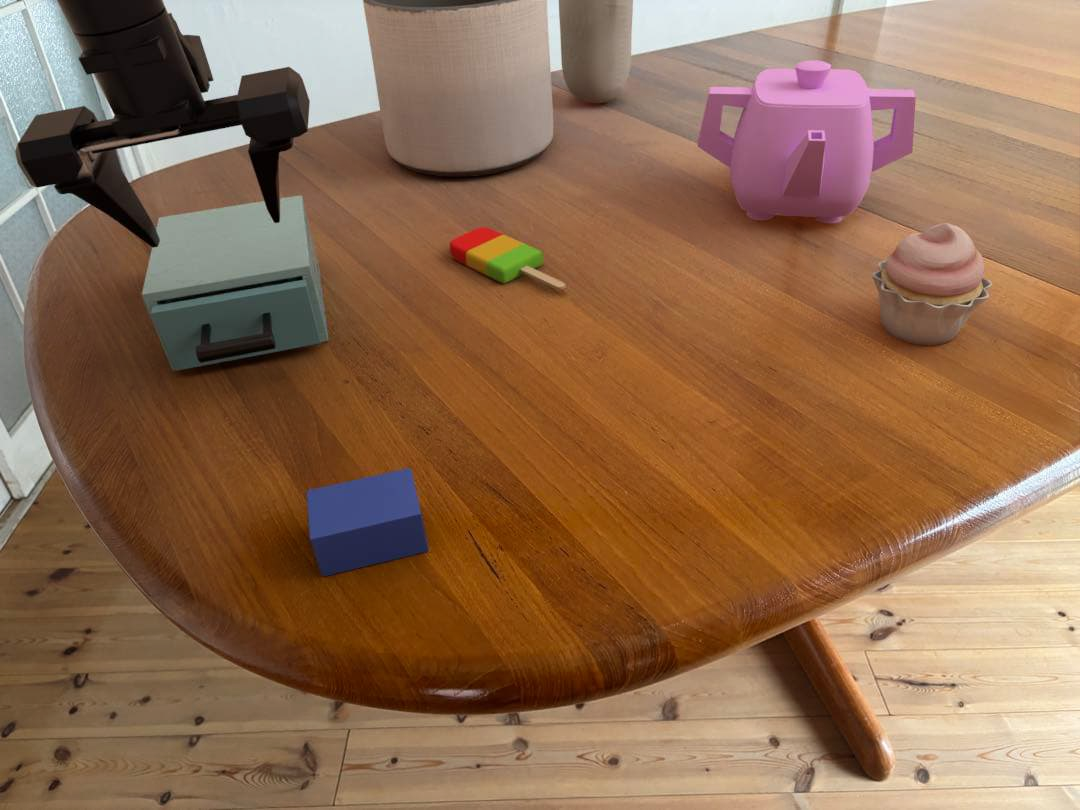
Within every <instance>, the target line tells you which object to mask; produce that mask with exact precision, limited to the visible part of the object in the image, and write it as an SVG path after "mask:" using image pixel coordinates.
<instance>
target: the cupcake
mask: <svg viewBox="0 0 1080 810" xmlns="http://www.w3.org/2000/svg"><path fill="white" fill-rule="evenodd" d="M877 266H878V270H876V271H874V272H872V274H871V277H872V279H873V282H874V285H875V287H876V289H877V293H878V299H879V312H880V323H881V324H882V328H883V329H884V330H885V331H886V332H887V333H888V334H890V336H892V337H894V338H896V339H899V340H901V341H904V342H907V343H909V344H914V345H922V346H937V345H943V344H947V343H949V342H951V341H952V340H953V339H955V338H956V337H957V336H958V334H959V333H960V331H961V330H962V329H963V327H964V325H965V323H966V322H967V321H968V319H969V318H970V316H971V315H972V313H973V312H975V310H976V309H978V308H979V307H980V306H981V305H982V304H983V303H984V302H985V301H986V300H988V299H989V298H990V293H989V292H988V290H989V289H990V287H992V285H993V282H992V281H991V280H990V279H988V278H985V277H984V275H985V263H984V259H983V256H982V254H981V253H980V251H979V250H978V249H977V248H976V247H975V243H974V242H973V239H972V238H971V237H970V236H969V235H968V233H967V232H966V231H964V229H962V228H960V227H959V226H957V225H954V224H951V223H949V222H943V223H939V224H934V225H932V226H930V227H928V228H927V229H925V230H924V231H923V232H913V233H909V234H907V235H905V236H904V237H903V238H902V239H901V240H900V241H899V242H898V243H897V245H896V247H895V249H894V251H893V252H891V254H889V256H888V257H887V258H886V260H882V261H880V262H878V264H877Z"/></svg>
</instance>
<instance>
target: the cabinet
mask: <svg viewBox="0 0 1080 810" xmlns="http://www.w3.org/2000/svg"><path fill="white" fill-rule="evenodd" d="M155 229H156V232H157V234H158V236H159V239H160V242H159V245H158V247H154V248H153V247H151V251H150V256H149V259H148V265H147V268H146V273H145V278H144V282H143V285H142V290H141V291H142V292H141V297H142V299H143V302H144V304H145V308H146V310H147V312H148V314H149V316H150V319H151V322H152V324H153V326H154V329H155V331H156V334H157V337H158V339H159V342H160V343H161V346H162V349H163V351H164V354H165V357H166V359H167V361H168V363H169V366H170V369H171V371H174V369H173V367H172V364H171V362H170V359H169V357H168V354H167V352H166V349H165V347H164V344H163V342H162V339H161V337H160V334H159V332H158V329H157V327H156V324H155V322H154V319H153V317H152V314H151V311H152V306H157V305H162V304H167V303H166V301H165V300H167V299H173V298H179V297H184V296H190V295H196V294H202V293H207V292H213V291H219V290H224V289H230V288H236V287H242V286H247V285H253V284H259V283H265V282H270V281H276V280H282V279H288V278H293V277H299V276H302V280H306V283H307V287H308V291H309V295H310V298H311V302H312V306H313V310H314V314H315V318H316V322H317V325H318V329H319V333H320V338H321V343H325V342H329V339H330V338H329V332H328V324H327V316H326V309H325V308H326V307H325V302H324V301H325V300H324V295H323V287H322V278H321V272H320V271H321V270H320V264H319V259H318V255H317V251H316V247H315V243H314V239H313V235H312V231H311V227H310V223H309V219H308V215H307V211H306V207H305V203H304V199H303V196H302V195H294V196H288V197H281V198H280V222H279V223H274V222H273V220H272V218H271V216H270V214H269V212H268V210H267V208H266V205H265V202H264V200H263V201H256V202H249V203H243V204H236V205H230V206H224V207H218V208H209V209H205V210H204V209H203V210H198V211H192V212H185V213H179V214H173V215H167V216H166V215H165V216H160V217H158V220H157V224H156V227H155Z"/></svg>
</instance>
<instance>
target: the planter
mask: <svg viewBox="0 0 1080 810" xmlns="http://www.w3.org/2000/svg"><path fill="white" fill-rule="evenodd" d="M362 4H363V9H364V16H365V17H364V18H365V21H366V29H367V33H368V34H367V35H368V41H369V46H370V53H371V59H372V66H373V72H374V79H375V85H376V92H377V98H378V107H379V112H380V119H381V125H382V130H383V138H384V143H385V146H386V149H387V152H388V155H389V156H390V158H391V159H393V160H394V161H396V162H397V163H398V164H400V165H401V166H403V167H405V168H407V169H409V170H412V171H414V172H417V173H421V174H425V175H429V176H435V177H436V176H437V177H447V178H464V177H478V176H485V175H490V174H497V173H502V172H506V171H509V170H511V169H515V168H517V167H521V166H523V165H525V164H527V163H529V162H531V161H532V160H534V159H535V158H537V157H539V156H540V155H541V154H542V153H543V152H544V151H546V150H547V148H548V147H550V145H551V143H552V142H553V139H554V130H555V129H554V124H555V123H554V105H553V104H554V103H553V87H552V70H551V54H550V36H549V19H548V17H549V16H548V15H549V14H548V0H362Z"/></svg>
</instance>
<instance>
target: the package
mask: <svg viewBox="0 0 1080 810" xmlns="http://www.w3.org/2000/svg"><path fill="white" fill-rule="evenodd" d="M306 505H307V507H306V508H307V518H308V534H309V541H310V544H311V547H312V550H313V554H314V557H315V559H316V562H317V565H318V569H319V571H320V574H321V577H322V578H324V577H328V576H332V575H337V574H340V573H345V572H348V571H352V570H357V569H361V568H366V567H369V566H373V565H377V564H381V563H386V562H389V561H390V562H391V561H394V560H398V559H402V558H407V557H411V556H415V555H419V554H423V553H427V552H428V553H429V545H428V544H429V543H428V539H427V535H426V529H425V525H424V519H423V514H422V510H421V506H420V501H419V497H418V493H417V488H416V485H415V479H414V475H413V471H412V468H411V467H407V468H402V469H397V470H394V471H390V472H385V473H384V472H383V473H380V474H375V475H371V476H366V477H363V478H357V479H353V480H349V481H344V482H340V483H335V484H330V485H326V486H322V487H317V488H312V489H307V490H306Z"/></svg>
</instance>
